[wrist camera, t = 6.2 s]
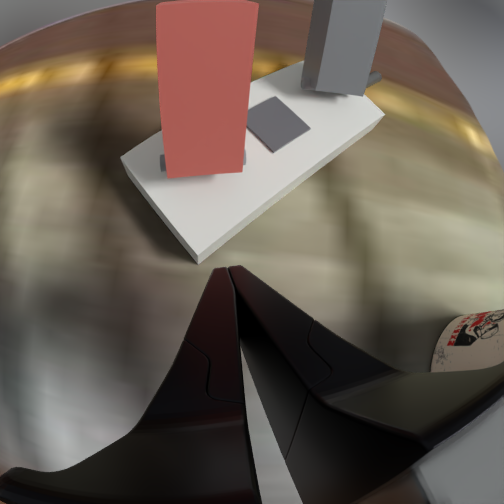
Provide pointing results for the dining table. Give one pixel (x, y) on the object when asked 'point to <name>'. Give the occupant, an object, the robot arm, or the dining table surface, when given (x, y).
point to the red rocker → (204, 84)
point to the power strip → (254, 159)
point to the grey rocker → (342, 45)
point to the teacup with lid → (470, 343)
